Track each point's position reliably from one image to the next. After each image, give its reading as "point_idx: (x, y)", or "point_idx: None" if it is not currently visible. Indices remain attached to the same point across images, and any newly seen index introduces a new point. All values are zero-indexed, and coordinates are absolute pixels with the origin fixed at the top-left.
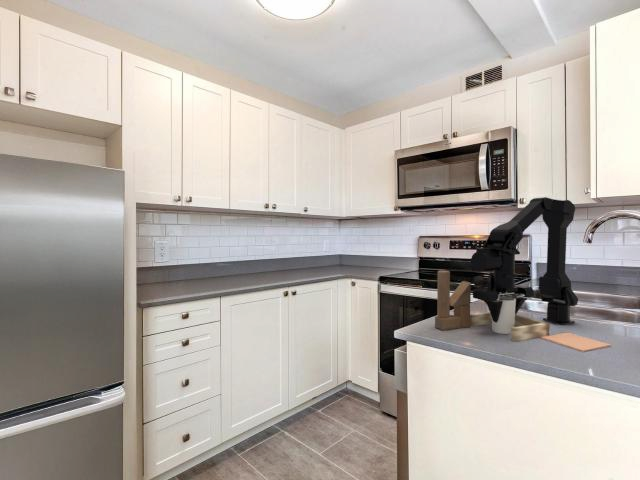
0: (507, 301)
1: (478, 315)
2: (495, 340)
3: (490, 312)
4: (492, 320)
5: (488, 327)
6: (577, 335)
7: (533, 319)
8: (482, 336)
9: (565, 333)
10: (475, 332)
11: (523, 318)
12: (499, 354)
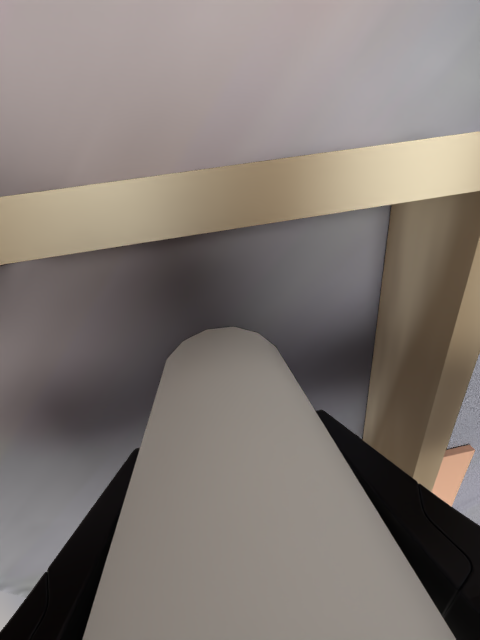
0: None
1: (77, 252)
2: (75, 494)
3: (66, 549)
4: (148, 420)
5: (178, 301)
6: (461, 477)
7: (439, 459)
8: (26, 449)
9: (452, 458)
10: (7, 386)
11: (422, 420)
12: (8, 592)
